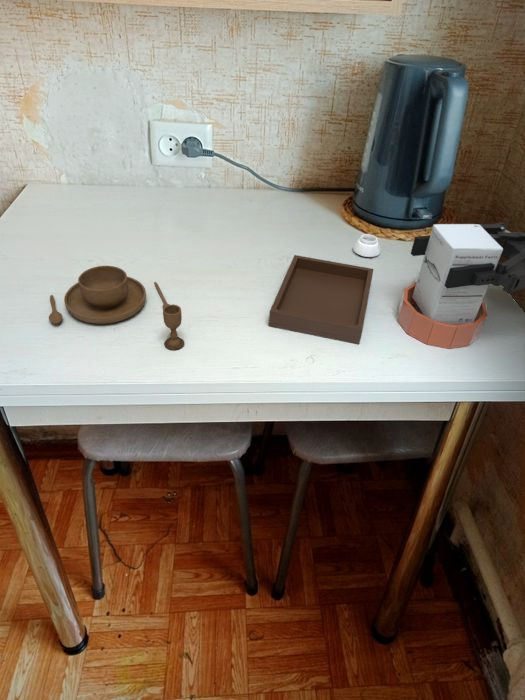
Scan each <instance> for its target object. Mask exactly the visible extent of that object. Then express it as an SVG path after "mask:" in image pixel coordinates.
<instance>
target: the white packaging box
mask: <svg viewBox="0 0 525 700" xmlns="http://www.w3.org/2000/svg"><path fill="white" fill-rule="evenodd" d="M479 224H480V223H479ZM479 224H478V223H477V224H476V223H438V224H437V223H436V224H435V223H434V224H433V226H432V228H431V232H430V235H429V236H430V239H429V242H428V245H427V249H426V252H425V255H423V259H422V263H421V266H420V269H419V272H418V275H417V279H416V282H417V283H416V286H415V289H414V293H413V296H412V298H413V299H414V300H415V302H416V303H417V304H416V305H417V307H418V308H419V309H420V311H421V314H423V315H425V316H427V317H428V318H430V319H432V320H434V321H439V322H444V323H449V324H454V325H459V324H466V323H474V321H475V318H476V316H477V313H478V311H479V308H480V306H481V303H482V301H484V298H485V296H486V293H487V291H488V288H489V286H490V284H488V285H481V286H475V285H470V286H463V287H455V288H448V289H447V288H446V287H445V286H444V285H445V282H446V279H447V276H448V273H449V270H450V268H454V267H463V266H471V265H479V264H487V263H492V264H493V265H495V267H494V270H496V268H497V265H498V263H499V262H500V258H501V257H500V256H501V253H502V251H503V248H502V246H500V245H499V244H498V243H497V242H496V241H495V240H494V239H493V238H492V237H491V236H490V235H489V234H488V233H487V232H486V231H485V230H484V229H483V228H482V227H481V225H479Z"/></svg>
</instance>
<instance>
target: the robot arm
mask: <svg viewBox="0 0 525 700" xmlns="http://www.w3.org/2000/svg"><path fill="white" fill-rule="evenodd" d="M479 225H481V227H482V228H483V229H484V230H485V231H486V232H487V233H488V234H489V235H490V236H491V237H492V238H493V239H494V240H495V241H496V242H497V243H498V244H499V245H500V246H501V247H502V248H503V251H502V253H501V256H500V258H508V259H507V260H505V261H504V262H501V261H498V263H497V266H496V268H495V270H494V267H495V265H493V264H492V263H487V264H479V265H471V266H463V267H454V268H450V270H449V273H448V276H447V279H446V282H445V285H444V286H445V287H446V288H447V289H448V288H455V287H463V286H470V285H475V286H481V285H488V284H489V285H492V286H493V287H499V286H501V287H503V288H502V291H504V292H505V293H509V294H512V293H514V292H515V293H516V292H518V291H522V290H524V289H525V232H523V231H522V232H521V231H513V232H511V231H509V230H508V229H507V227H508V224H507V223H505V222H497V223H489V224H488V223H485V224H484V223H479ZM429 239H430V235H422V236H415V237H414V240H413V243H412V247H411V250H410V255H411V256H412V257H418V256H419V257H420V256H425V252H426V249H427V245H428V242H429Z"/></svg>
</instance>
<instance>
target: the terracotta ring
mask: <svg viewBox="0 0 525 700" xmlns="http://www.w3.org/2000/svg"><path fill="white" fill-rule="evenodd" d="M416 283H417V281H414V282H412V283H411V284H409V285H408V286H407V287H405V288H404V289H403V292H402V296H401V299H400V304H399V306H398V310H397V323H398V324H399V325H400V327H401V328H402V330H403V331H404V332H405V333H406V334H407V335H408V336H410V337H412V338H414V339H415V340H418V341H419V342H421V343H422V344H425V345H428V346H433V347H439V348H443V349H448V350H449V349H450V350H451V349H458V348H459V349H460V348H465V347H469V346H471V345H472V344H473V343H474V342H476V340H477V339H479V337H480V336H481V333H482V330H483V327H484V326H485V324H486V320H487V318H488V309H487V303H486V302H485V301H484V300H483V301H482V303H481V306H480V308H479V311H478V313H477V316H476V318H475V321H474V323H466V324H449V323H444V322H439V321H434V320H432V319H430V318H428V317H427V316H425V315H423V313H422V312H421V313H420V312H418V311H417V310H416V309H415V308H414V307H413V305H417V303H416V302H415V300H414V299H413V298H412V296H413V293H414V289H415V286H416Z"/></svg>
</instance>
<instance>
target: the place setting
mask: <svg viewBox="0 0 525 700" xmlns="http://www.w3.org/2000/svg"><path fill="white" fill-rule="evenodd" d="M153 283H154V287H155V289H156V291H157V292H158V295H159V296H160V299H161V300H162V302H163V305H162V317H163V323H164V325H165V327H166V328H168V329H169V330H170V333H169V337H168V338H167V339H165V340H164V343H163V344H164V347H165V348H166V349H168V350H170V351H178V350H180V349H183V348H184V346H185V340H184V339H183V338H182V337H180V336H178V335H179V334H178V331H177V329H178V328H179V327H180V326H181V324H182V320H183V319H182V318H183V317H182V309H181V306H180V305H177V304H169V303H168V302H167V299H166V298H165V295H164V294H163V292H162V290H161V287H160V286H159V284H158V283H157V281H154V282H153ZM63 301H64V305H65V306H64V307H65V308H66V310H67V311H68V313H69V314H70V315H72V316H73V317H74V318H76V319H78V320H80V321H81V322H86V323H90V324H101V325H102V324H104V325H105V324H112V323H113V324H114V323H118V322H120V321H124V320H126V319H128V318H130V317H132V316H134V315H135V314H137V313H139V311H140V310H141V309H142V308H143V306H144V305H145V304H146V303H145V302H146V301H147V290H146V288H145V286H144V285H143V283H141V282H140V281H139V280H137V279H136V278H133V277H130V276H128V275H127V272H126V271H125V270H123V269H122V268H121V267H117V266H115V265H114V266H113V265H99V266H93V267H91V268H88V269H86V270H84V271H83V272H82V273H81V274H80V275H79V276H78V282H76V283H74V284H73V285H72V286H71V287H69V288H68V289H67V291H66V293H65V295H64V299H63ZM49 302H50V305H51V310H52V311H51V312H50V314H49V315H48V320H49V322H50V323H52V324H60V323H61V321H62V320H63V314H62V313H61V312H59V311H58V310H57V308H56V301H55V297H54V295H53V294H50V295H49Z"/></svg>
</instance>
